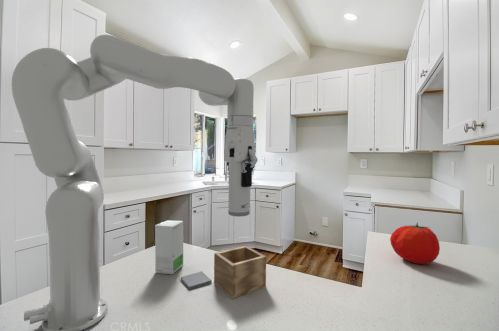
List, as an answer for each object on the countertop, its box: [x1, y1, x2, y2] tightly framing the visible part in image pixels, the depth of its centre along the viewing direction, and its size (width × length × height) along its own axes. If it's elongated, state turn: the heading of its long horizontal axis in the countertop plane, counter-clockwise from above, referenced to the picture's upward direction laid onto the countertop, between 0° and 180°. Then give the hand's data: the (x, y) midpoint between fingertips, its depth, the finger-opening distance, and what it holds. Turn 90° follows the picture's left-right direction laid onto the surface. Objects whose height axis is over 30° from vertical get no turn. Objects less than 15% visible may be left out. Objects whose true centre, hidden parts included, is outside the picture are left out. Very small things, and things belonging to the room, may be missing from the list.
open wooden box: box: [213, 245, 267, 299], centre depth 75 cm, size 12×10×9 cm
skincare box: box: [154, 219, 184, 275], centre depth 85 cm, size 8×7×16 cm
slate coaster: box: [180, 271, 212, 290], centre depth 77 cm, size 7×7×1 cm
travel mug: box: [227, 148, 251, 217], centre depth 74 cm, size 6×7×20 cm
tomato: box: [389, 222, 441, 265], centre depth 94 cm, size 16×14×14 cm
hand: (239, 184), depth 74 cm, fingers closed on travel mug, 6 cm apart
